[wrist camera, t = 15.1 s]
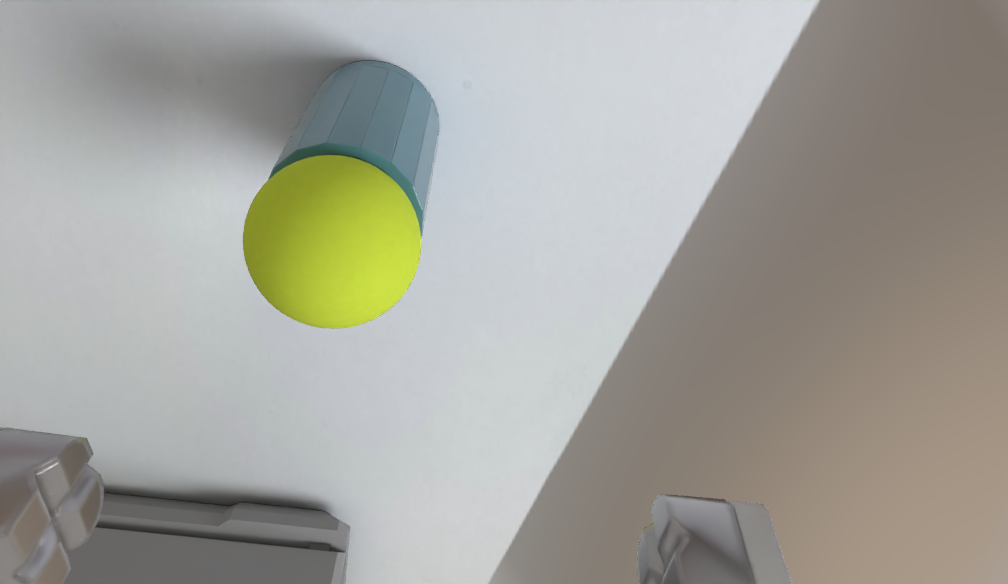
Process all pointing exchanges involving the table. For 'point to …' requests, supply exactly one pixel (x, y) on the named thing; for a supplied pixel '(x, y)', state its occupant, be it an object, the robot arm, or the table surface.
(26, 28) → the table surface
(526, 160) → the table surface
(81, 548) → the laptop
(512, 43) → the table surface
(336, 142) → the cup
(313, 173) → the tennis ball
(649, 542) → the robot arm
